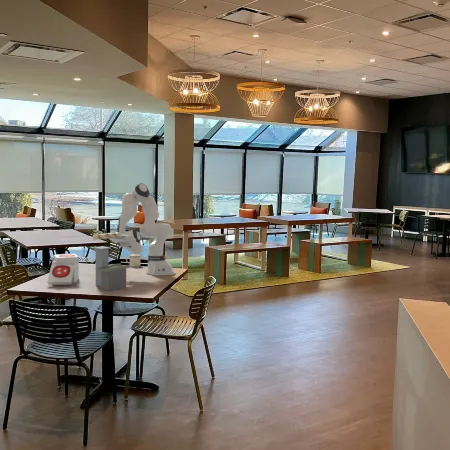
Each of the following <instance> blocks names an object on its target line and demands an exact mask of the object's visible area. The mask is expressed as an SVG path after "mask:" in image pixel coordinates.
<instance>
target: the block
mask: <svg viewBox="0 0 450 450" xmlns="http://www.w3.org/2000/svg"><path fill="white" fill-rule="evenodd" d="M116 233H118V234H120V233H119V232H118V231H117V232H108V233H107V232H105V233H100V234H99V233H98V234H92V240H94V241H95V240H104V239H108V238H114V237H117V236H115V234H116Z"/></svg>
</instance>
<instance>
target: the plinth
mask: <svg viewBox="0 0 450 450" xmlns="http://www.w3.org/2000/svg"><path fill="white" fill-rule="evenodd" d="M93 250H95V286H97V287H98V286H99V287H101V271H98V267H103V266H108V265H109V250H111V247H110V246H103V245H101V246H95V247H93Z"/></svg>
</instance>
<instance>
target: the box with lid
mask: <svg viewBox="0 0 450 450" xmlns="http://www.w3.org/2000/svg"><path fill="white" fill-rule="evenodd" d="M130 268H131V266H130V264H126V265H123V264H122V263H114V264H108V266H103V267H98V271H101V286H100V290H101V291H106V292H111V291H115V290H119V289H124V288H127V269H130Z"/></svg>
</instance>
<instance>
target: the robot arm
mask: <svg viewBox="0 0 450 450" xmlns="http://www.w3.org/2000/svg"><path fill="white" fill-rule="evenodd" d="M139 204H141V206H142V211H143V213H144V214H143V215H144V222H143V224H141V226H140V227H139V230H138V229H135V228H134V229H130V230H128V231H126V228H127V227H126V226H127V224H128V223H129V222H130V221H131V220H132V219H133V218H135V217H136V215H137V213H138V205H139ZM157 205H158V204H157V202H156V200H155V197H154V196H152V195H151V194H150V190H149V187H148V186H147V184H145V183H143V182H140V183H137V184H136V185H135V186H134V187H133V188H132V190H131V191H130V192H128V193H125V194H123V195H122V197H121V213H120V216H119V217H118V222H117V224H118V225H117V227H118V228H117V232H119V233H120V234H118V233H116V234H115V236H117V237H114V238H107V239H109V240H110V241H111V242H114V243H116V245H117V246H119V247H121V248H122V249H125V250H126V251H128V252H129V253H131V255H132V254H135V255H138V254H139V255H141V253H142V252H143V250H144V249H143V248H144V247H143V246H142V244H141V239H142V238H146V239H149V238H150V239H151V238H152V239H153V238H154V240H153V241H152V242H150V243H149V245H148V255H147V268H146V275H151V276H174V275H175V274H176V270H173V265H172V264H171V263H170V262H168V261H167V260H166V259H167V256H165V255H164V254H163V253H164V244H165V242H166V240H167V239H168V237H170V236H171V235H172V232H173V230H172V226H171V225H170V224H169V223H165V222H160V223H159V222H155V221H157V220H158V219H159V218H160V213H159V212H160V211H159V208H158V206H157Z"/></svg>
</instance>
